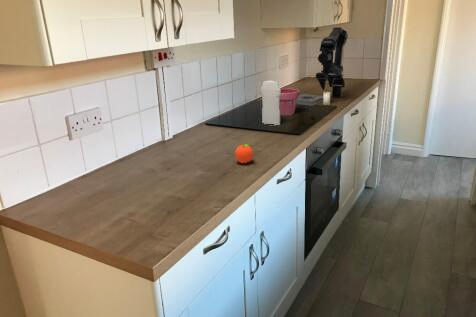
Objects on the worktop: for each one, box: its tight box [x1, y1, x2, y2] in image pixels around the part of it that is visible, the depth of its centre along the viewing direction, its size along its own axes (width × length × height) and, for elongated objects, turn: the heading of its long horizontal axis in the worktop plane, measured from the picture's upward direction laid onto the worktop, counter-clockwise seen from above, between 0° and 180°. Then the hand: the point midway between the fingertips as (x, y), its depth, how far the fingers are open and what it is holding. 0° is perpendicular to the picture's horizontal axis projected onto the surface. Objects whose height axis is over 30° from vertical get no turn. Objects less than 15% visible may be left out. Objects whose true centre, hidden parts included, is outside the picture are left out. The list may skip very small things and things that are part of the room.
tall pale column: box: [260, 79, 282, 126], centre depth 198 cm, size 11×4×22 cm, turn 61°
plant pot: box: [279, 88, 300, 116], centre depth 218 cm, size 14×14×13 cm
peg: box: [322, 91, 331, 106], centre depth 236 cm, size 4×4×7 cm
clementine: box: [234, 144, 254, 164], centre depth 152 cm, size 8×7×7 cm
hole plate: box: [296, 93, 323, 107], centre depth 245 cm, size 16×16×3 cm
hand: (327, 88), depth 234 cm, fingers open, 9 cm apart
